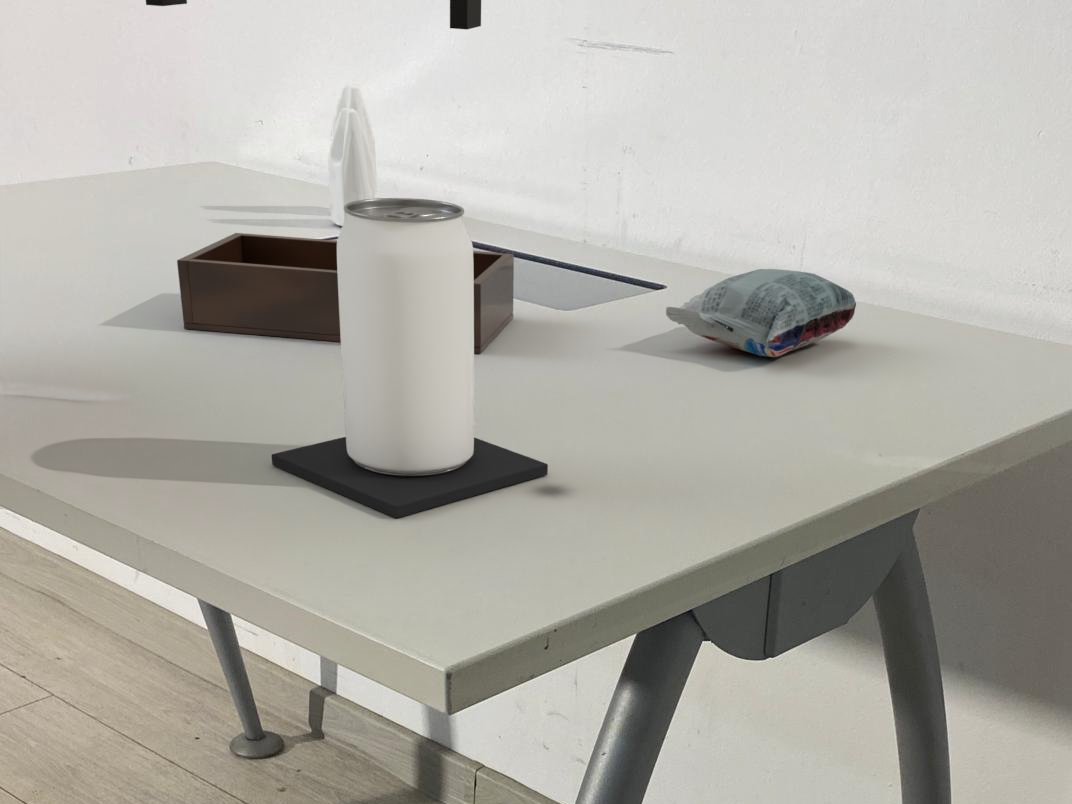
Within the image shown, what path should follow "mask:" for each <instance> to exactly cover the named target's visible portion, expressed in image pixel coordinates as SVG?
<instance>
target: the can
mask: <svg viewBox="0 0 1072 804" xmlns="http://www.w3.org/2000/svg"><path fill="white" fill-rule="evenodd" d="M344 211H345V212H346V217H345V221H344V224H343V226H341V229H340V230H339V233H338V236H337V273H338V295H339V317H340V337H341V342H340V355H341V357H340V358H341V374H342V377H341V378H342V393H343V394H342V395H343V413H344V428H345V429H344V430H345V437H346V446H347V453H348V455H349V456H350V457H351V458H352V459H353V461H354V462H355V464H356V465H358V466H359V467H361V468H363V469H365V470H368V471H371V472H374V473H378V474H383V475H389V476H399V477H424V476H434V475H440V474H445V473H448V472H452V471H455V470H457V469H459V468H461V467H462V466H464V465H465V464H466V463H467V461H468V459H470V458H471V456H472V455H473V451H474V438H475V353H474V268H473V251H474V246H473V242H472V239H471V236H470V234H469V232H468V229H467V226H466V225H465V222H464V218H463V216H464V214H465V209H464V208H463V207H462V206H461V205H458V204H455V203H451V202H447V201H442V200H435V199H426V198H425V199H424V198H412V197H410V198H409V197H378V198H377V199H365V200H358V201H354V202H350V203H347V204H346V205H345V206H344Z"/></svg>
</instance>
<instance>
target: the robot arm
mask: <svg viewBox="0 0 1072 804" xmlns="http://www.w3.org/2000/svg"><path fill="white" fill-rule="evenodd" d="M187 4H188V0H145V5H146V6H155V7H168V6H169V7H170V6H176V5H177V6H180V5H187ZM481 26H482V0H449V29H453V30H454V29H455V30H465V31H466V30H470V29H475V28H478V27H481Z"/></svg>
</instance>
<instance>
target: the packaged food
mask: <svg viewBox="0 0 1072 804" xmlns="http://www.w3.org/2000/svg"><path fill="white" fill-rule="evenodd" d="M856 307H857V303H856V299H855V296H854V294H853V293H852V292H851V291H849V290H848V289H846V288H844V287H842V286H840V285H838V284H836V283H834V282H832V281H830V280H828V279H827V278H825V277H822V276H819V275H818V274H816V273H813V272H806V271H799V270H790V269H789V270H788V269H779V268H759V269H755V270H751V271H747V272H744V273H740V274H737V275H734V276H730V277H728V278H725V279H723V280H721V281H719V282H717V283H716V284H714V285H711V286H710V287H708V288H706V289H704V291H703V292H702V293H700V294H697V295H694V296H692V297H691V298H690V299H689V301H686V302H684V303H683V305H681V306H679V307H676V306H667V307H665V314H666V315H665V316H666V317H667V318H668V319H669V320H670V321H672V322H674V323H677V324H678V325H683V326H685V328H687V330H689V332H691V333H693V334H694V335H696V336H699V337H702V338H705V339H707V340H710V341H713V342H716V343H719V344H721V345H724V346H728V347H731V348H734V349H736V350H740V351H742V352H747V353H750V354H753V355H755V356H758V357H768V358H769V357H770V358H778V357H781V356H783V355H785V354H788V352H791V351H796V350H798V349H800V348H803V347H806V346H808V345H811V344H813V343H816V342H818V341H821V340H823V339H825V338H827V337H828V336H830V335H832V334H834V333H837V332H838V331H840V330H841V329H843V328H845V327H846V326H847V324H848V323H850V321H851V320H852V319H853V318H854V315H855V313H856V312H855V310H856Z"/></svg>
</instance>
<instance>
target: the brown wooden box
mask: <svg viewBox="0 0 1072 804" xmlns="http://www.w3.org/2000/svg"><path fill="white" fill-rule="evenodd" d="M176 265H177V274H178V283H179V294H180V302H181V310H182V311H181V312H182V319H183V321H182V322H183V328H184V330H195V331H208V332H217V333H218V332H220V333H232V334H242V335H256V336H266V337H279V338H291V339H300V340H301V339H304V340H314V341H315V340H316V341H326V342H327V341H328V342H336V343H337V342H339V343H341V337H340V317H339V295H338V273H337V240H336V239H321V238H311V237H310V238H309V237H297V236H285V235H284V236H282V235H270V234H257V233H256V234H255V233H245V232H244V233H242V232H234V233H233V234H232V233H231V234H230V235H227V236H226V237H224V238H222V239H219V240H217V241H216V242H213V243H211V244H209V245H207V246H204V247H202V248H200V249H198V250H195V251H194V252H192V253H190V254H187V255H185V256H183V257H181V258H179V259H177V260H176ZM514 267H515V256H514V253H504V252H495V251H494V252H492V251H480V250H473V268H474V354H482V353H483V351H485V350H486V349H487V347H488V346H489V345H490V344H491V343H492V342H493V341H494V340H495V339H496V337H498V335H499V334H500V333H501V332H502V331H503V330H504V329H505V328H506V327H507V326H508V325H509V324H510V322H511V321H512V320H513V319H514V283H515V282H514V280H515V279H514V271H515V269H514Z"/></svg>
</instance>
